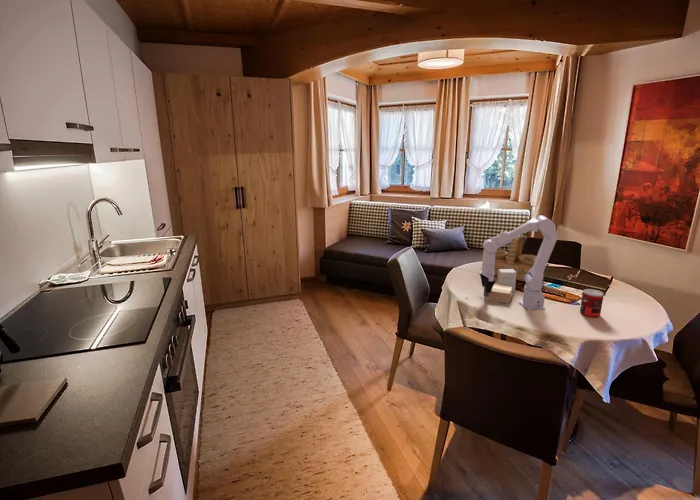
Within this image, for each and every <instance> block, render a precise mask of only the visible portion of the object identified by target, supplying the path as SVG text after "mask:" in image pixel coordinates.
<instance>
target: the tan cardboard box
mask: <svg viewBox="0 0 700 500" xmlns="http://www.w3.org/2000/svg"><path fill="white" fill-rule="evenodd" d="M509 298H510V293H503V292H497V291H491V293H486V290H485V285H484V287H483V300H484V299H485V300H490V301H496V302H501V303H507V304H509V303H510V302H509Z"/></svg>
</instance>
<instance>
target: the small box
mask: <svg viewBox="0 0 700 500" xmlns="http://www.w3.org/2000/svg"><path fill="white" fill-rule="evenodd" d="M516 280H517V279H516V271H515V270H514V269H499V270H498V276H497V282H496V283H497V284H496V285H502V286H508V287H512V291H515V290H516V283H517V282H516Z"/></svg>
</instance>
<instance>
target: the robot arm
mask: <svg viewBox="0 0 700 500" xmlns="http://www.w3.org/2000/svg"><path fill="white" fill-rule="evenodd" d="M556 227H557V226H556V224H555V223H554V222H553V221H552V219H550V218H548V217H547V216H546V215H538V216H536V217H533V218H531V219H530V220H528V221H527V222H525V223H523V224H521V225H520V226H518V227H516V228H514V229H513V230H510V231H500V233H499V234H497V235H496V236H494V237H490V238H488V239H486V240H484V241H483V243H482V248H483V252H482V262H481V271H478V274H479V276H480V279H481V286H482V288H484V285H485V290H486V293H491V290H492V288H493V285H494V284H495V285H496V283H497V279H494V278H495V276H494V266H495V252H496V251H497V250H499V249H500V248H502V247H504V246H506V245H508V244H510V242H512V239H513V238H515V237H517V236H521V235H523V234H526V233H527V232H537V233H538V230H539V232H540V234H542V236H543V240H542V242H541V245H540V247H539V249H538V251H537V255H536V259H535V262H534V264H533V267H532V268H531V269H530V270H529V272H528V273H527V274H526V275H525V277H524V280H525V284H524V285H523V286H524V288H523V296H522V300H520V301H518V303H519V304H520V305H521V306H523V307H525V308H526V309H528V311H535V310H545V309H546V307H545V298H546V297H545V294H544V293H543V292H542V288H543V285H544V284H543V281H544V272H545V269H546V267H547V266H548V265H547V264H548V261H549V260H550V257H551V256H552V252H553V251H554V248H555V245H556V242H557V240H558V233H557V229H556Z"/></svg>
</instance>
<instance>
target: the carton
mask: <svg viewBox="0 0 700 500" xmlns="http://www.w3.org/2000/svg"><path fill="white" fill-rule="evenodd" d="M491 291H497V292H503V293H510V298H509V303H510V301H511V298H512V294H513V290H512V287H508V286H502V285H497V284H496V283H495V284H494V285H493V288H492V290H491Z"/></svg>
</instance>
